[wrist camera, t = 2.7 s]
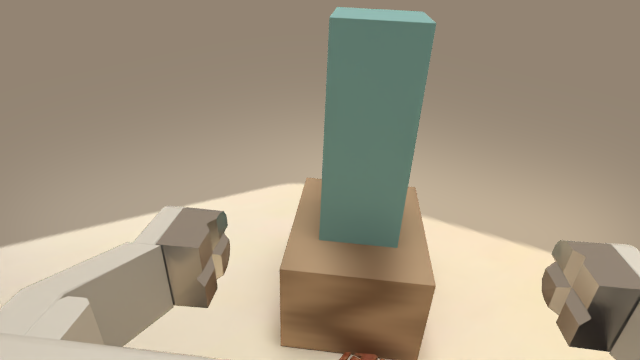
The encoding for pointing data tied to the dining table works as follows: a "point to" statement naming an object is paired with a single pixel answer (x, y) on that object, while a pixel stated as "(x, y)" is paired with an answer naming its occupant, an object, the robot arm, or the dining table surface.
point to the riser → (355, 287)
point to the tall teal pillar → (371, 121)
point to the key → (365, 358)
